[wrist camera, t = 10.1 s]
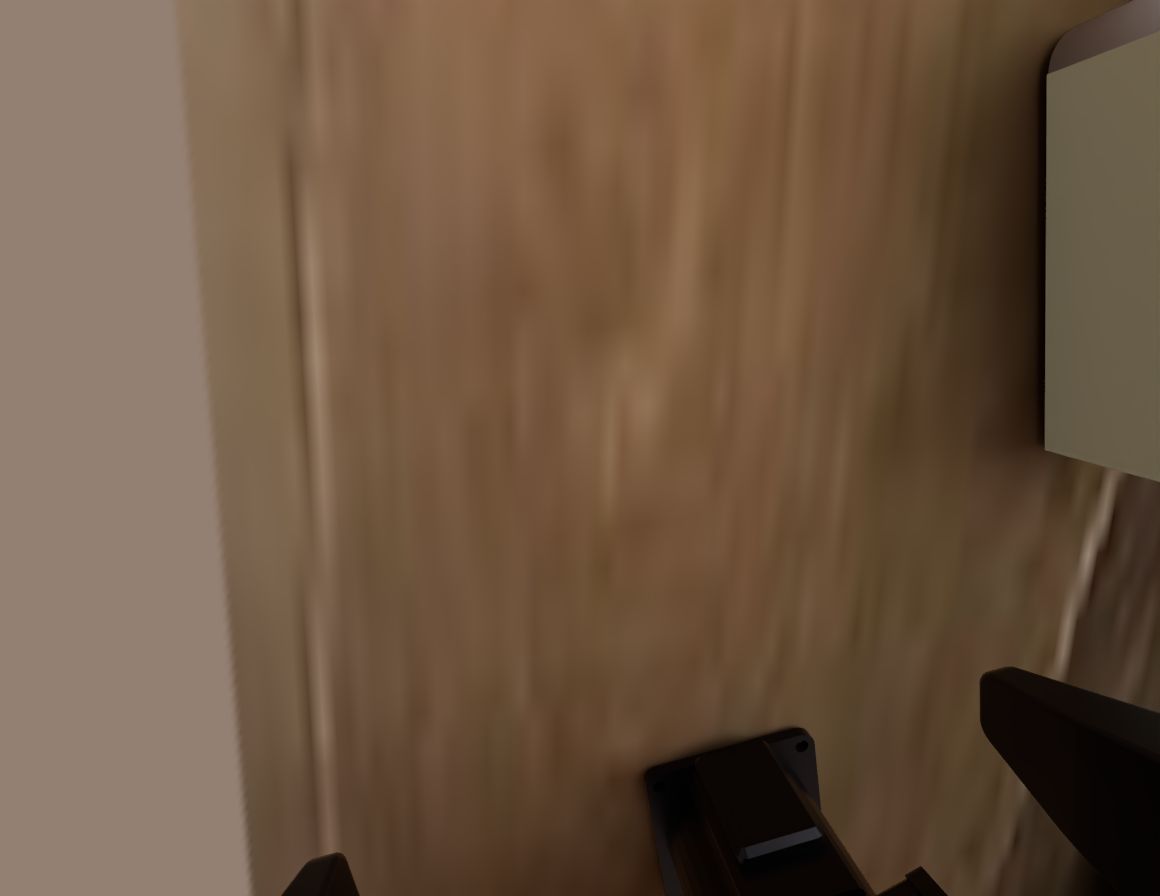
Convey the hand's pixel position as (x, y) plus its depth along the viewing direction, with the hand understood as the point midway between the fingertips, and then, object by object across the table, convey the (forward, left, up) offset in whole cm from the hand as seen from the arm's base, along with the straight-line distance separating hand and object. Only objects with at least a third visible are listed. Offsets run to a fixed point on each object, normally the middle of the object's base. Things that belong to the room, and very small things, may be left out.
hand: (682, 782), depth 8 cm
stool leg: (+5, -18, -12) cm, 22 cm away
